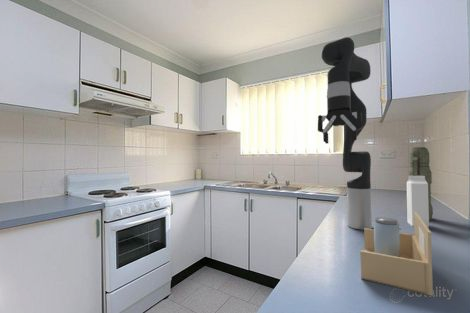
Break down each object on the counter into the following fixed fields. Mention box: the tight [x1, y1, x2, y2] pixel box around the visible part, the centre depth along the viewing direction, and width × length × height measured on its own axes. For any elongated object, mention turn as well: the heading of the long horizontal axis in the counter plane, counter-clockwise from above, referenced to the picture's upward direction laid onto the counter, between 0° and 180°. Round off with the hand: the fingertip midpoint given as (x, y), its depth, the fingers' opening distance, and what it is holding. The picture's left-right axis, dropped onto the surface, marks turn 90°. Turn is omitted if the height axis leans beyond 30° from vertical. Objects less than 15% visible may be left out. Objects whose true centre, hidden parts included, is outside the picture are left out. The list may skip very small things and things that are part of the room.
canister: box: [373, 216, 401, 257], centre depth 63 cm, size 6×6×13 cm
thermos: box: [407, 146, 434, 221], centre depth 111 cm, size 9×12×35 cm
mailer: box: [360, 212, 434, 297], centre depth 62 cm, size 22×14×14 cm, turn 148°
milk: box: [406, 175, 430, 229], centre depth 100 cm, size 6×6×22 cm
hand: (339, 142), depth 79 cm, fingers open, 8 cm apart
